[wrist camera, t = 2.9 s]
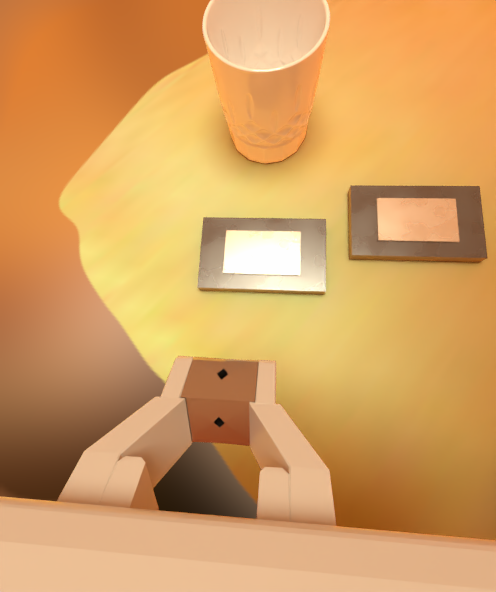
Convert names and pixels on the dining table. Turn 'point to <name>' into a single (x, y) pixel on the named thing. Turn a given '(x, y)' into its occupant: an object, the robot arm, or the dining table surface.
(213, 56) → the white cup
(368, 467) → the dining table surface
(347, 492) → the dining table surface
